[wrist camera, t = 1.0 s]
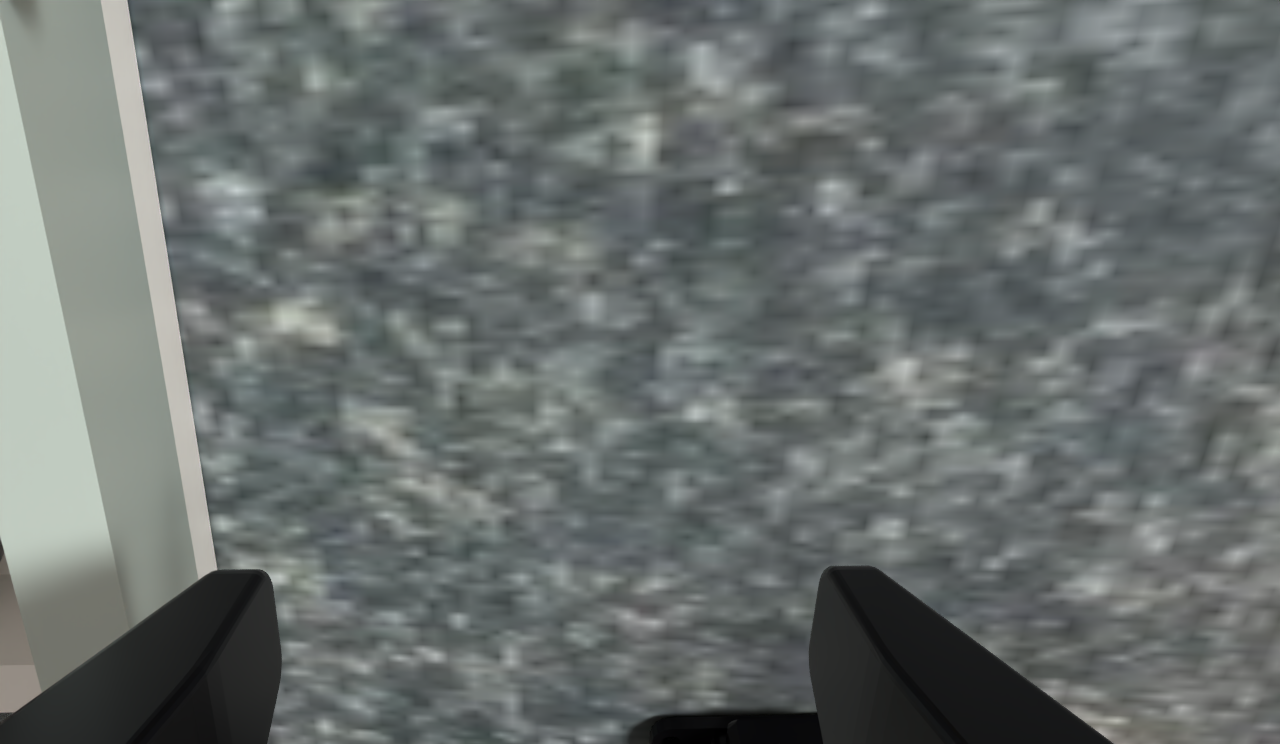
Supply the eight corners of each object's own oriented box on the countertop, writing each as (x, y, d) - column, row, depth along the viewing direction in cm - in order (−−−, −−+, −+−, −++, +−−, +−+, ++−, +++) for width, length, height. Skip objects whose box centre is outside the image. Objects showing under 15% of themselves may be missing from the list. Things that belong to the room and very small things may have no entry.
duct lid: (176, 708, 20) (249, 691, 21) (175, 1195, 13) (291, 1150, 13) (-77, -595, 12) (60, -568, 12) (-524, -1425, 4) (-123, -1261, 5)
